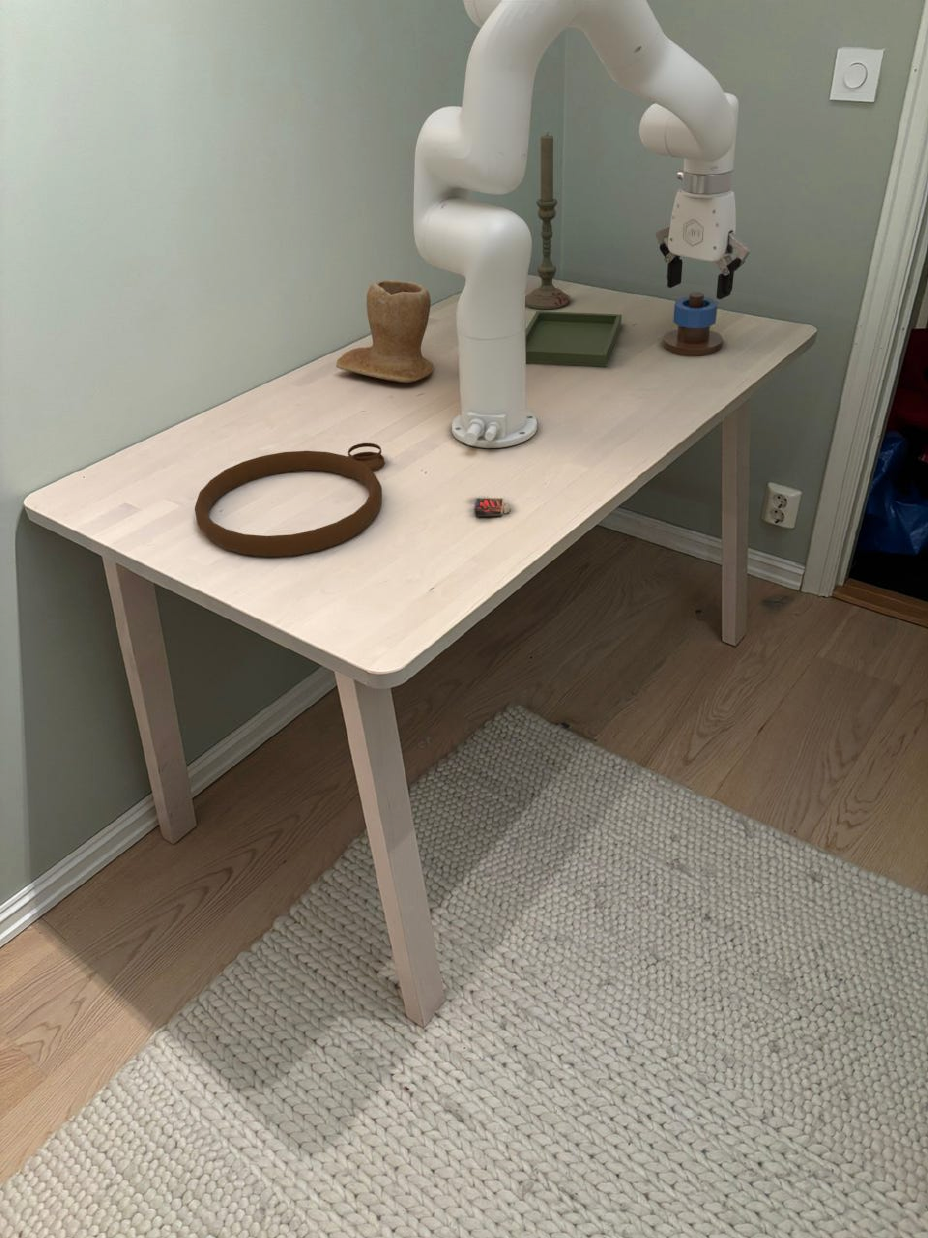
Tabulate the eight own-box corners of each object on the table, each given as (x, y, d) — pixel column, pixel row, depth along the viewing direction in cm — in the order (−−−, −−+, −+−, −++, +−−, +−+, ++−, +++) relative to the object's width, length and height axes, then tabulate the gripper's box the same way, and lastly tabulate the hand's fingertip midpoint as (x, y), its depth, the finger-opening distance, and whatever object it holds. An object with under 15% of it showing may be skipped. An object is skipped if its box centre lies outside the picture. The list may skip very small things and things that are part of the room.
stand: (720, 357, 167) (726, 305, 162) (660, 354, 170) (663, 303, 165) (723, 335, 175) (729, 285, 170) (665, 333, 178) (669, 283, 172)
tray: (605, 367, 166) (606, 354, 165) (513, 362, 170) (513, 350, 169) (621, 325, 182) (621, 314, 180) (536, 321, 185) (536, 310, 184)
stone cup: (449, 368, 169) (444, 278, 161) (408, 393, 161) (401, 300, 153) (378, 353, 176) (369, 266, 168) (335, 377, 168) (324, 287, 160)
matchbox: (476, 519, 128) (476, 516, 128) (469, 500, 132) (469, 497, 132) (512, 515, 128) (512, 511, 128) (504, 496, 132) (504, 492, 132)
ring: (714, 328, 167) (716, 311, 165) (671, 327, 168) (673, 309, 166) (716, 314, 172) (718, 297, 170) (675, 312, 174) (676, 295, 172)
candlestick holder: (546, 313, 189) (546, 139, 171) (513, 302, 195) (510, 133, 177) (580, 300, 193) (583, 130, 176) (546, 290, 199) (546, 124, 182)
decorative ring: (444, 456, 136) (293, 559, 117) (445, 476, 138) (296, 580, 119) (310, 419, 148) (152, 506, 129) (313, 437, 150) (158, 526, 131)
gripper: (647, 180, 160) (642, 287, 170) (742, 194, 150) (730, 307, 160) (674, 170, 164) (668, 275, 174) (769, 183, 154) (756, 294, 164)
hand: (698, 290), depth 167 cm, fingers open, 9 cm apart
